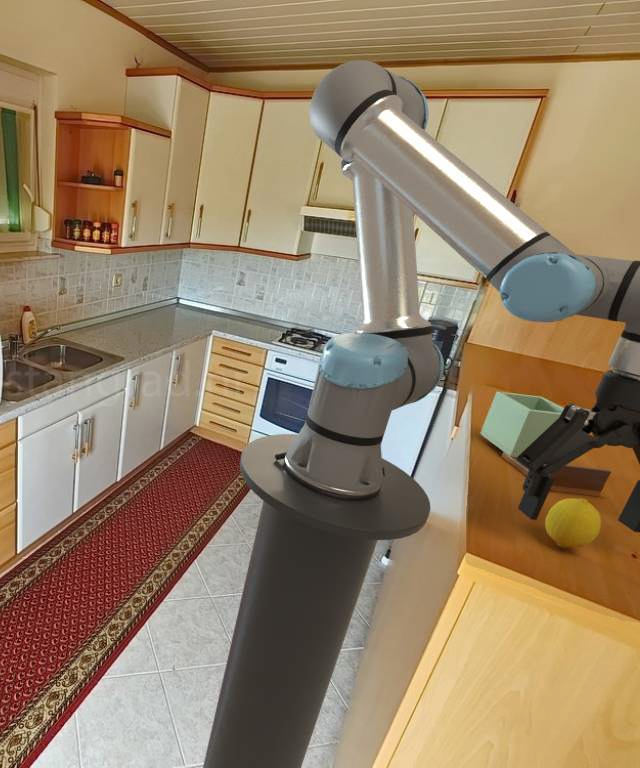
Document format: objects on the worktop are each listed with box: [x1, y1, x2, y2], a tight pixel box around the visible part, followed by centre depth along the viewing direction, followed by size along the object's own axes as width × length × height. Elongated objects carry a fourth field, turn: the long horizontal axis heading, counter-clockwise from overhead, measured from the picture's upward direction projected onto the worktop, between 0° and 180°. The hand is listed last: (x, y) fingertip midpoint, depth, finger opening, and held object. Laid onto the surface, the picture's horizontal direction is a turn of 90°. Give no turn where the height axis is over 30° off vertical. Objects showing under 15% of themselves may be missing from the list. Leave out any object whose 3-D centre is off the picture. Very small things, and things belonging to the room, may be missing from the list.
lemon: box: [544, 497, 602, 549], centre depth 68 cm, size 6×6×8 cm
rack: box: [501, 451, 612, 497], centre depth 90 cm, size 12×9×5 cm
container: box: [479, 391, 565, 457], centre depth 97 cm, size 10×9×10 cm
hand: (577, 520), depth 68 cm, fingers open, 13 cm apart
